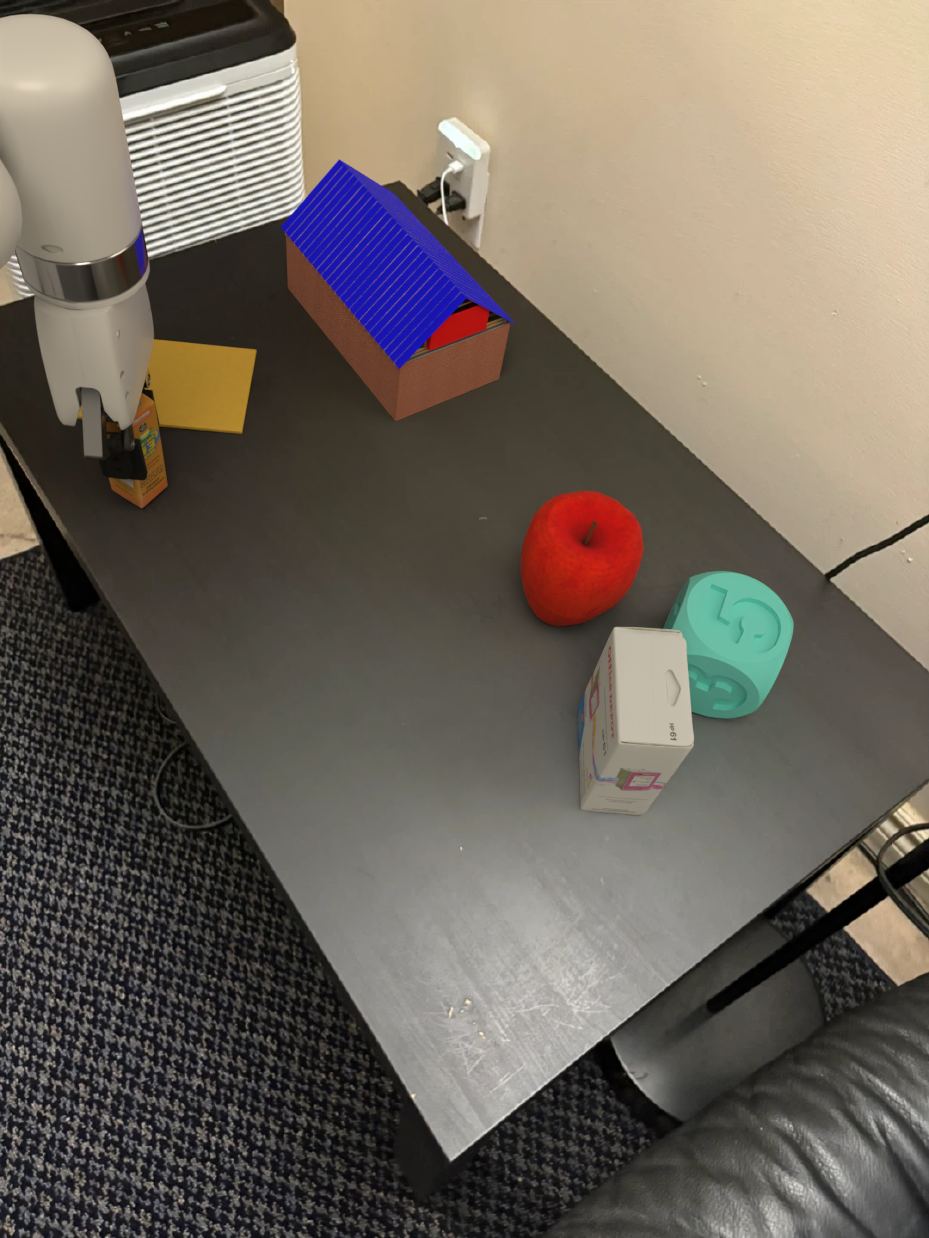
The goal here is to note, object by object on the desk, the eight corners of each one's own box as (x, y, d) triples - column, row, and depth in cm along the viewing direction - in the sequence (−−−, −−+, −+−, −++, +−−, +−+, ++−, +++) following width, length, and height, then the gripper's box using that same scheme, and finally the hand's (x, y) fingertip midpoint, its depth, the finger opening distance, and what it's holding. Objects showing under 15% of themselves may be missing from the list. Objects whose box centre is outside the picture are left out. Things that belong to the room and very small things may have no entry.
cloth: (72, 418, 81) (71, 416, 81) (97, 336, 87) (97, 333, 86) (242, 434, 83) (241, 431, 82) (256, 352, 88) (256, 349, 88)
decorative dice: (667, 612, 78) (700, 554, 72) (761, 650, 77) (803, 596, 71) (639, 691, 74) (670, 637, 67) (738, 733, 73) (780, 683, 66)
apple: (567, 674, 74) (601, 597, 65) (483, 604, 76) (505, 520, 67) (636, 607, 78) (677, 526, 69) (554, 543, 81) (583, 455, 71)
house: (389, 252, 97) (396, 143, 88) (503, 380, 90) (526, 276, 80) (283, 287, 93) (278, 176, 83) (394, 425, 85) (403, 321, 75)
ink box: (573, 703, 73) (612, 621, 63) (638, 709, 73) (688, 628, 63) (576, 812, 68) (619, 741, 58) (646, 817, 69) (700, 748, 59)
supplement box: (143, 512, 77) (121, 425, 68) (111, 491, 78) (85, 401, 69) (173, 487, 78) (155, 398, 70) (140, 466, 79) (118, 376, 71)
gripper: (51, 159, 63) (104, 368, 78) (-21, 338, 54) (55, 535, 69) (169, 173, 64) (199, 378, 79) (117, 352, 55) (163, 544, 70)
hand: (131, 449), depth 74 cm, fingers closed on supplement box, 4 cm apart
